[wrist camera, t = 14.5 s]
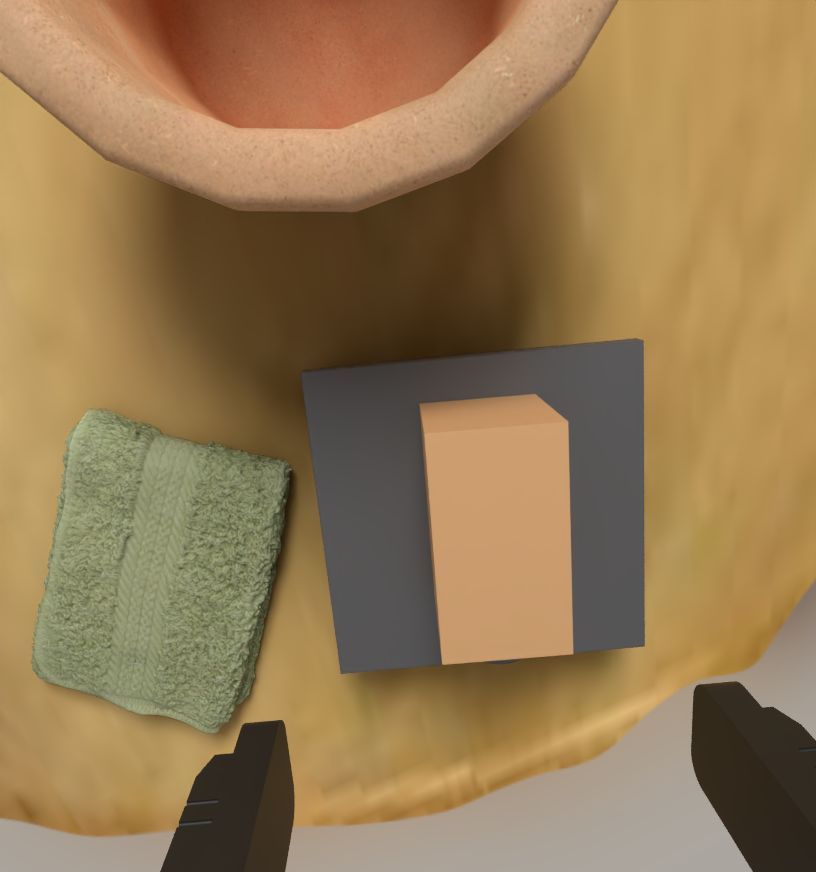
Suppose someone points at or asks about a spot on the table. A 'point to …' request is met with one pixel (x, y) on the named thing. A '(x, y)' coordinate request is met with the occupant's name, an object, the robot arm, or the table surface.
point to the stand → (407, 501)
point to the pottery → (295, 88)
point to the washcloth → (159, 570)
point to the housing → (499, 528)
